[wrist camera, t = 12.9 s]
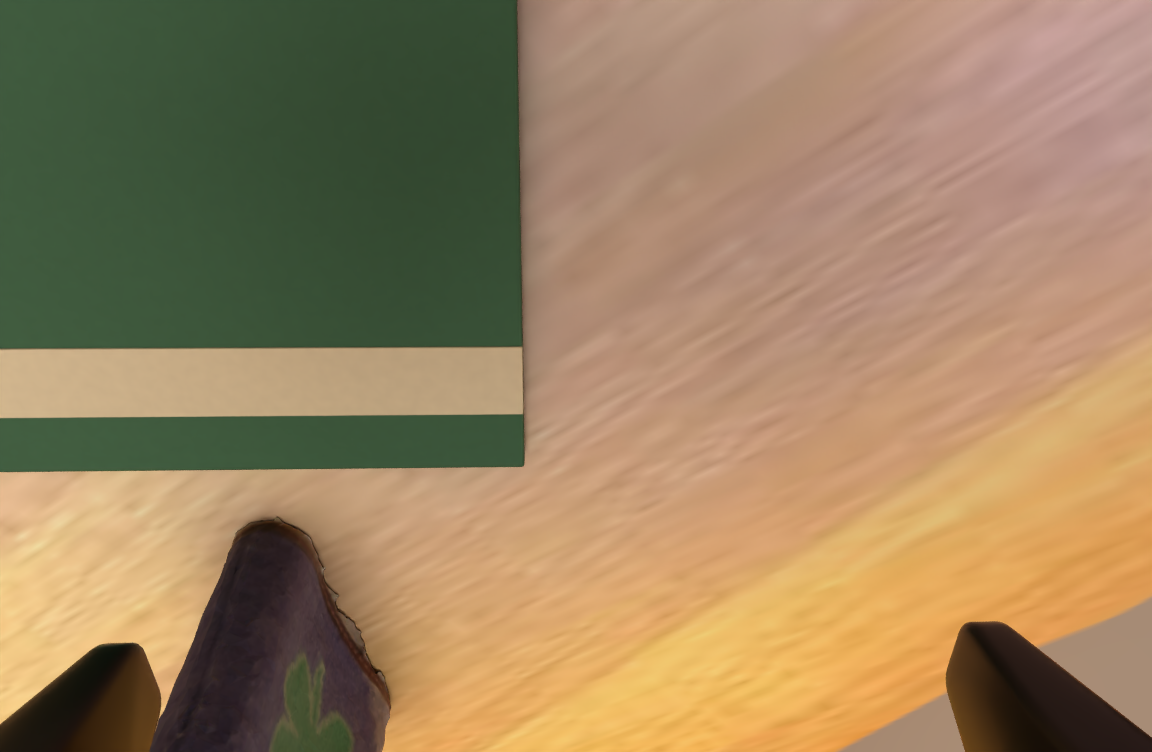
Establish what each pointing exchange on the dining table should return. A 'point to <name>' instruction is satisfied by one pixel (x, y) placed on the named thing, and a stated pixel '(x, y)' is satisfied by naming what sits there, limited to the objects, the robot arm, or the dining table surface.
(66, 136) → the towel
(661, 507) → the dining table surface
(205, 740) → the flask
